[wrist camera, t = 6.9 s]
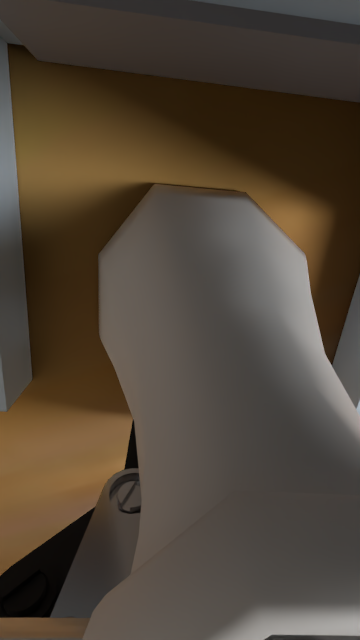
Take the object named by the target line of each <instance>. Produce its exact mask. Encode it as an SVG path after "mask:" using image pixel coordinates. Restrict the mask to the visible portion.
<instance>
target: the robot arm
mask: <svg viewBox="0 0 360 640" xmlns="http://www.w3.org/2000/svg"><path fill="white" fill-rule="evenodd" d="M141 501H142V498H141V488H140V477H139V467H138V456H137V446H136V435H135V425H134V420H133V423H132V429H131V434H130V440H129V446H128V452H127V458H126V464H125V469H124V470H122V471H120V472H118V473H116V474H114V475H113V476H112V477H111V478H110V479H109V480H108V481H107V483H106V484H105V486H104V488H103V490H102V493H101V495H100V498H99V500H98V502H97V505H96V507H94V508H93V509H91V510H90V511H89V512H87V513H86V514H84V515H83V516H82V517H80V518H79V519H77V520H76V521H74V522H73V523H72V524H70V525H69V526H67V527H66V528H65V529H63V530H62V531H60V532H59V533H58V534H56V535H55V536H53V537H52V538H51V539H49V540H48V541H46V542H45V543H43V544H42V545H41V546H39V547H38V548H36V549H35V550H34V551H32V552H31V553H29V554H28V555H27V556H25V557H24V558H22V559H21V560H19V561H18V562H17V563H15V564H14V565H12V566H11V567H10V568H9V569H8V570H7V571H5V572H4V573H3V574H2V575H1V576H0V640H82V639H83V636H84V633H85V631H86V628H87V626H88V623H89V620H90V618H91V615H92V613H93V611H94V609H95V608H96V607H97V605H98V604H99V603H100V601H101V600H102V599H103V598H104V596H105V595H106V594H107V593H108V592H110V591H111V590H112V589H113V588H115V587H116V586H117V585H118V584H119V583H121V582H122V581H123V580H124V579H126V578H127V577H128V576H129V575H130V574H131V570H132V565H133V560H134V555H135V551H136V546H137V541H138V537H139V526H140V513H141ZM264 640H317V639H315V638H313V637H306V636H269V637H267V638H266V639H264Z"/></svg>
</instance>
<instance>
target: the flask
mask: <svg viewBox="0 0 360 640" xmlns="http://www.w3.org/2000/svg"><path fill="white" fill-rule="evenodd" d="M98 279H99V336H100V339H101V341H102V344H103V346H104V348H105V350H106V352H107V354H108V356H109V358H110V360H111V362H112V364H113V366H114V368H115V371H116V374H117V376H118V379H119V382H120V384H121V387H122V390H123V393H124V395H125V398H126V401H127V403H128V406H129V409H130V411H131V414H132V417H133V420H134V425H135V435H136V446H137V456H138V467H139V477H140V488H141V498H142V501H141V513H140V526H139V537H138V541H137V546H136V551H135V555H134V560H133V565H132V570H131V574H130V575H129V576H128V577H127V578H126V579H124V580H123V581H122V582H121V583H119V584H118V585H117V586H116V587H115V588H113V589H112V590H111V591H110V592H108V593H107V594H106V595H105V596H104V598H103V599H102V600H101V601H100V603H99V604H98V605H97V607H96V608H95V609H94V611H93V613H92V615H91V618H90V620H89V623H88V626H87V628H86V631H85V633H84V636H83V639H82V640H264V639H266V638H267V637H269V636H306V637H313V638H315V639H317V640H360V415H359V414H358V412H357V410H356V408H355V406H354V405H353V403H352V401H351V399H350V398H349V396H348V394H347V392H346V390H345V389H344V387H343V385H342V383H341V381H340V380H339V378H338V376H337V374H336V373H335V371H334V369H333V367H332V365H331V364H330V362H329V360H328V358H327V357H326V355H325V351H324V347H323V343H322V339H321V334H320V330H319V326H318V322H317V317H316V313H315V309H314V304H313V300H312V296H311V290H310V282H309V274H308V266H307V260H306V256H305V253H304V252H303V251H302V250H301V249H300V248H299V247H298V246H297V245H296V244H295V243H294V242H293V241H292V240H291V239H290V238H289V237H288V236H287V235H286V234H285V233H284V231H283V230H282V229H281V228H280V227H279V226H278V225H277V224H276V223H275V222H274V221H273V220H272V219H271V218H270V217H269V216H268V215H267V214H266V213H265V212H264V211H263V210H262V209H261V208H260V207H259V206H258V204H257V203H256V202H255V201H254V200H253V199H252V198H251V197H250V196H249V195H248V194H247V193H246V192H236V191H226V190H215V189H204V188H193V187H183V186H172V185H161V184H154V185H153V186H152V187H151V189H150V190H149V191H148V192H147V194H146V195H145V196H144V197H143V199H142V200H141V201H140V202H139V204H138V205H137V206H136V207H135V209H134V210H133V211H132V213H131V214H130V215H129V216H128V218H127V219H126V220H125V221H124V223H123V224H122V225H121V226H120V228H119V229H118V230H117V231H116V233H115V234H114V235H113V237H112V238H111V239H110V240H109V242H108V243H107V244H106V245H105V247H104V248H103V249H102V250H101V252H100V253H99V254H98Z"/></svg>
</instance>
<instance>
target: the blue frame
mask: <svg viewBox="0 0 360 640" xmlns="http://www.w3.org/2000/svg"><path fill="white" fill-rule="evenodd" d="M7 43H10V44H18V45H24V46H25V47H26V48H27V49H28V50H29V51H30V52H31V54H32V55H33V56H34V57H35V58H36V59H37V60H38V61H45V62H53V63H61V64H68V65H76V66H84V67H91V68H99V69H107V70H114V71H122V72H130V73H137V74H145V75H153V76H160V77H168V78H176V79H183V80H191V81H199V82H206V83H214V84H222V85H229V86H237V87H245V88H252V89H260V90H268V91H275V92H283V93H291V94H298V95H306V96H314V97H321V98H329V99H337V100H344V101H352V102H360V0H0V411H5V412H7V411H8V410H9V408H10V407H11V406H12V405H13V403H14V402H15V401H16V400H17V398H18V397H19V396H20V395H21V393H22V392H23V391H24V389H25V388H26V387H27V386H28V384H29V383H30V382H31V381H32V366H31V353H30V339H29V326H28V313H27V300H26V286H25V273H24V260H23V247H22V233H21V220H20V207H19V194H18V181H17V167H16V154H15V141H14V128H13V114H12V101H11V88H10V75H9V62H8V48H7ZM332 367H333V369H334V371H335V373H336V374H337V376H338V378H339V380H340V381H341V383H342V385H343V387H344V389H345V390H346V392H347V394H348V396H349V398H350V399H351V401H352V403H353V405H354V406H355V408H356V410H357V412H358V414H359V415H360V275H359V278H358V281H357V285H356V288H355V291H354V295H353V298H352V301H351V305H350V308H349V311H348V314H347V318H346V321H345V324H344V328H343V331H342V334H341V338H340V341H339V344H338V347H337V351H336V354H335V357H334V361H333V364H332Z"/></svg>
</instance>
